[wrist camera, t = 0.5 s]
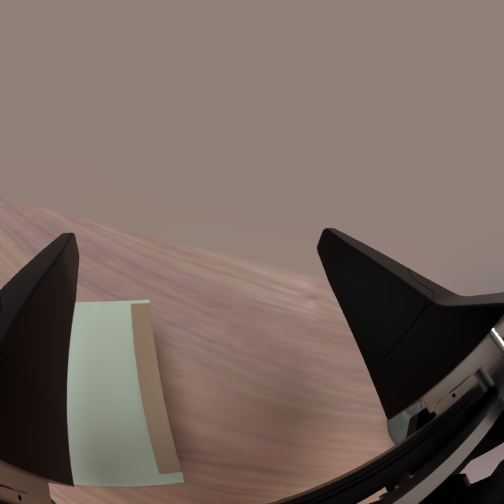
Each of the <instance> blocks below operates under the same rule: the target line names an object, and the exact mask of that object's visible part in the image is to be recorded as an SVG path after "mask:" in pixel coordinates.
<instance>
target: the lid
mask: <svg viewBox="0 0 504 504" xmlns="http://www.w3.org/2000/svg"><path fill="white" fill-rule="evenodd" d="M67 423H68V439H69V451H70V460H71V468H72V475H73V482H74V485H84V486H101V487H136V486H154V485H166V484H175V483H183V482H184V478H183V475H182V470H181V467H180V463H179V460H178V456H177V452H176V449H175V445H174V441H173V437H172V433H171V429H170V424H169V420H168V415H167V411H166V406H165V401H164V396H163V391H162V386H161V380H160V374H159V368H158V362H157V355H156V349H155V341H154V334H153V325H152V316H151V307H150V301H149V300H134V301H110V302H75V309H74V315H73V322H72V330H71V339H70V349H69V361H68V380H67Z"/></svg>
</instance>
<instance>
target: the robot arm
mask: <svg viewBox="0 0 504 504" xmlns="http://www.w3.org/2000/svg"><path fill="white" fill-rule="evenodd" d="M317 251H318V254H319V257H320V259H321V262H322V265H323V267H324V270H325V272H326V275H327V278H328V281H329V283H330V286H331V288H332V290H333V292H334V294H335V296H336V298H337V300H338V303H339V305H340V307H341V309H342V311H343V313H344V316H345V318H346V320H347V322H348V325H349V327H350V329H351V331H352V334H353V336H354V338H355V340H356V343H357V345H358V347H359V350H360V352H361V354H362V357H363V359H364V361H365V364H366V366H367V369H368V371H369V373H370V376H371V379H372V381H373V384H374V386H375V389H376V391H377V394H378V396H379V399H380V402H381V404H382V407H383V409H384V412H385V415H386V417H387V419H388V420H390V419H392V418H394V417H396V416H397V415H399V414H400V413H402V412H404V411H405V410H407V409H409V408H410V407H412V406H413V405H415V404H416V403H418V402H419V401H421V400H422V401H423V403H424V404H425V406H426V407H425V408H424V409H423V410H421V411H420V412H418V413H417V414H415V415H414V416H413V417H411V418H410V419H409V425H408V430H407V436H406V439H404V440H403V441H401V442H400V443H398V444H397V445H395V446H393V447H392V448H390V449H389V450H387V451H385V452H384V453H382V454H380V455H379V456H377V457H375V458H374V459H372V460H370V461H368V462H367V463H365V464H363V465H361V466H359V467H357V468H355V469H353V470H351V471H349V472H347V473H345V474H343V475H341V476H339V477H337V478H335V479H333V480H331V481H328V482H326V483H324V484H321V485H319V486H317V487H314V488H312V489H309V490H307V491H304V492H301V493H299V494H296V495H293V496H290V497H287V498H284V499H281V500H278V501H275V502H272V503H268V504H357V503H359V502H361V501H362V500H364V499H366V498H368V497H369V496H371V495H373V494H374V493H376V492H378V491H379V490H381V489H382V488H384V487H386V490H387V493H384V494H382V495H381V496H379V498H380V500H378V501H375V502H372V503H369V504H504V460H502V461H501V462H500V463H499V464H498V466H497V468H496V469H495V470H494V472H493V473H492V474H491V476H489V477H487V478H484V479H482V480H480V481H478V482H475V483H473V484H470V482H469V479H468V478H467V476H466V474H459V473H460V472H461V471H462V470H463V469H464V468H465V466H466V465H467V464H468V463H469V462H470V461H471V460H473V459H475V458H477V457H479V456H481V455H483V454H484V453H486V452H488V451H490V450H492V449H493V448H495V447H497V446H498V445H500V444H502V443H503V442H504V292H502V293H495V294H486V295H477V296H460V295H457V294H455V293H453V292H451V291H449V290H447V289H445V288H444V287H442V286H440V285H438V284H436V283H434V282H432V281H431V280H429V279H427V278H425V277H423V276H421V275H420V274H418V273H416V272H414V271H413V270H411V269H409V268H407V267H405V266H404V265H402V264H400V263H398V262H397V261H395V260H393V259H391V258H389V257H388V256H386V255H384V254H382V253H380V252H379V251H377V250H375V249H373V248H371V247H369V246H367V245H365V244H364V243H362V242H360V241H358V240H356V239H354V238H352V237H350V236H348V235H346V234H344V233H342V232H340V231H338V230H336V229H334V228H325V229H324V230H323V232H322V234H321V237H320V240H319V243H318V245H317ZM78 267H79V252H78V247H77V242H76V237H75V235H74V233H63V234H61V235H60V236H59V237H58V238H56V239H55V240H54V241H53V242H52V243H50V244H49V245H48V246H47V247H46V248H44V249H43V250H42V251H41V252H40V253H39V254H38V255H36V256H35V257H34V258H33V259H32V260H31V261H30V262H29V263H28V264H26V265H25V266H24V267H23V268H22V269H21V270H20V271H19V272H18V273H17V274H16V275H15V276H14V277H13V278H12V279H11V280H10V281H9V282H8V283H7V284H6V285H5V286H4V287H3V288H2V289H1V290H0V504H56V503H55V502H54V501H53V500H52V499H51V497H50V491H49V484H48V482H49V483H54V484H60V485H66V486H74V482H73V475H72V468H71V460H70V451H69V439H68V423H67V380H68V361H69V349H70V339H71V330H72V322H73V315H74V309H75V302H76V291H77V278H78Z"/></svg>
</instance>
